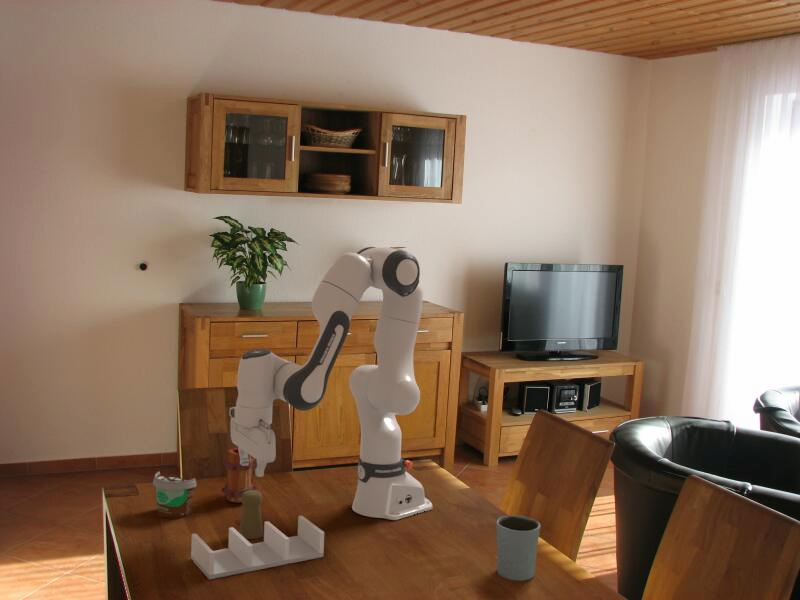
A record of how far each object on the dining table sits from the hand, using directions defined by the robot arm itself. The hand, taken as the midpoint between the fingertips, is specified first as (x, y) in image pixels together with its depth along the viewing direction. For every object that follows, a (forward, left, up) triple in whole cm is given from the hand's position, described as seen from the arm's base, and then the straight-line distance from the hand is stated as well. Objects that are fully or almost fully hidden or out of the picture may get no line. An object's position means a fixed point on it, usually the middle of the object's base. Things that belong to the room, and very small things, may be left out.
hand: (251, 470), depth 216 cm
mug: (-8, -26, -17) cm, 32 cm away
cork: (0, 0, -17) cm, 17 cm away
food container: (+14, -21, -17) cm, 30 cm away
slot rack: (+4, +14, -16) cm, 22 cm away
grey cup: (-46, +47, -17) cm, 68 cm away
